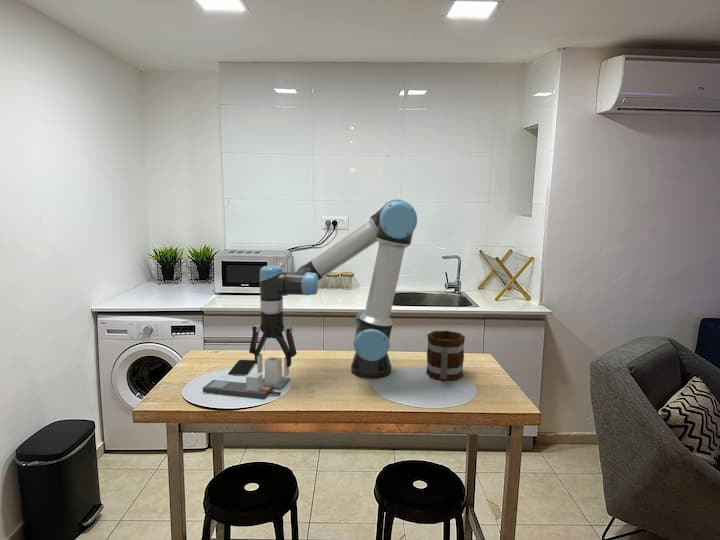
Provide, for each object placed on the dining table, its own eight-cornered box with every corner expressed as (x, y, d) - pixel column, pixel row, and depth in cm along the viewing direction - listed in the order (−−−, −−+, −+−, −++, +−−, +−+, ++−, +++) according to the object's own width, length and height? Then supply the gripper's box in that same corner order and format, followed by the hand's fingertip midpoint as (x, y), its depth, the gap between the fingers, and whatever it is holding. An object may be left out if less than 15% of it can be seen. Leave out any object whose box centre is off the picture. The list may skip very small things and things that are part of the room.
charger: (282, 379, 176) (281, 356, 174) (277, 384, 171) (276, 361, 170) (270, 378, 177) (269, 355, 175) (265, 383, 172) (264, 359, 171)
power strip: (284, 391, 168) (284, 385, 167) (276, 400, 161) (276, 394, 161) (213, 384, 173) (213, 378, 173) (203, 392, 166) (202, 386, 166)
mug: (427, 366, 192) (428, 329, 189) (463, 369, 189) (465, 331, 187) (423, 386, 173) (424, 345, 170) (463, 390, 170) (464, 348, 168)
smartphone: (227, 374, 182) (238, 359, 196) (227, 376, 182) (239, 361, 197) (247, 374, 181) (257, 360, 196) (247, 377, 181) (257, 362, 196)
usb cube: (262, 386, 167) (262, 373, 167) (257, 390, 164) (257, 377, 163) (251, 384, 168) (251, 372, 167) (246, 389, 164) (246, 376, 164)
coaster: (290, 380, 178) (290, 377, 178) (281, 390, 169) (280, 387, 169) (266, 377, 180) (266, 375, 179) (256, 387, 171) (256, 385, 171)
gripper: (305, 310, 171) (306, 372, 175) (246, 306, 176) (248, 367, 180) (298, 316, 164) (299, 380, 168) (237, 311, 168) (239, 375, 172)
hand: (273, 373), depth 174 cm, fingers open, 9 cm apart
